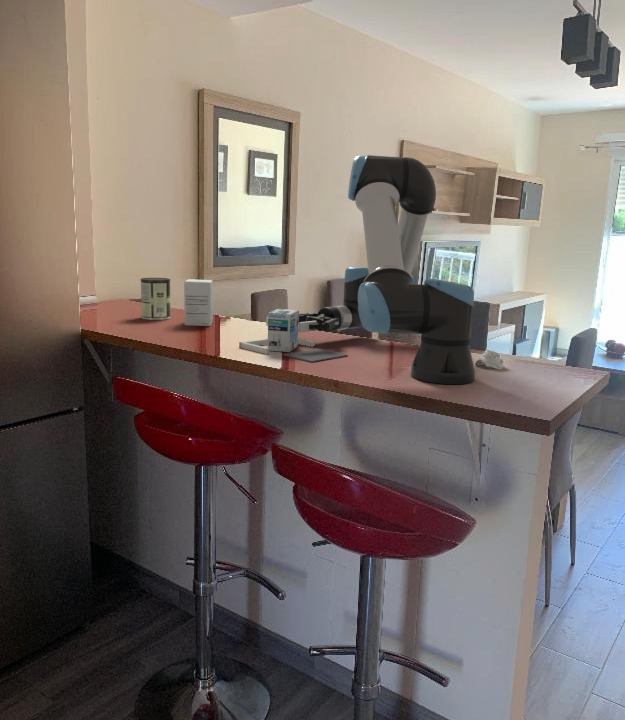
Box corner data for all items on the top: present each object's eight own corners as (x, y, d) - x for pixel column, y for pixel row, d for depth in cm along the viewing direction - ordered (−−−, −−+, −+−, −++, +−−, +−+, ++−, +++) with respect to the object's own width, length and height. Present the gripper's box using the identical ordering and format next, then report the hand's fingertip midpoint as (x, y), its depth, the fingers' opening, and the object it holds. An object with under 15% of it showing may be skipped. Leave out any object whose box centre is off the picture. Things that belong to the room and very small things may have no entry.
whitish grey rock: (486, 366, 175) (487, 348, 174) (509, 368, 170) (510, 350, 170) (471, 368, 169) (472, 349, 168) (494, 370, 164) (495, 351, 164)
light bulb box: (289, 352, 177) (291, 314, 175) (266, 351, 179) (267, 312, 176) (298, 346, 188) (299, 309, 185) (276, 344, 189) (277, 308, 187)
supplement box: (187, 321, 225) (187, 278, 222) (213, 322, 225) (213, 279, 222) (183, 325, 216) (183, 281, 213) (210, 326, 216) (210, 282, 213)
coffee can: (156, 315, 237) (155, 276, 234) (176, 318, 232) (176, 279, 229) (134, 317, 228) (134, 278, 225) (155, 321, 223) (155, 280, 220)
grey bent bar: (314, 346, 187) (314, 341, 187) (266, 354, 174) (266, 348, 174) (287, 340, 195) (287, 335, 195) (239, 347, 182) (239, 342, 181)
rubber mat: (347, 356, 175) (347, 354, 175) (311, 362, 166) (311, 361, 165) (318, 349, 183) (318, 348, 183) (282, 355, 173) (282, 354, 173)
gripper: (363, 336, 189) (313, 343, 174) (304, 325, 206) (254, 331, 191) (365, 311, 188) (314, 316, 173) (305, 302, 205) (254, 306, 190)
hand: (282, 324), depth 182 cm, fingers open, 13 cm apart
